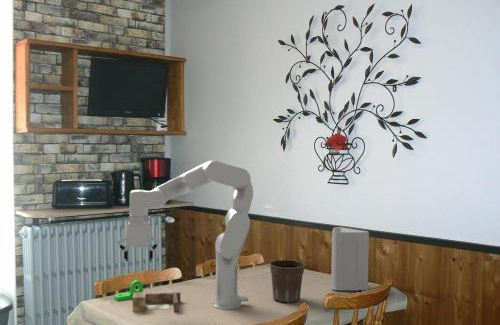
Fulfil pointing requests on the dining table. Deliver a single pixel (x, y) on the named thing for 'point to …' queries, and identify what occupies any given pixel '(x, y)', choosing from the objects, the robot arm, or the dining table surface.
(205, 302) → the dining table surface
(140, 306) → the block
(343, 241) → the grey tall block
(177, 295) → the arena
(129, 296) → the mechanical part
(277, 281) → the plant pot
